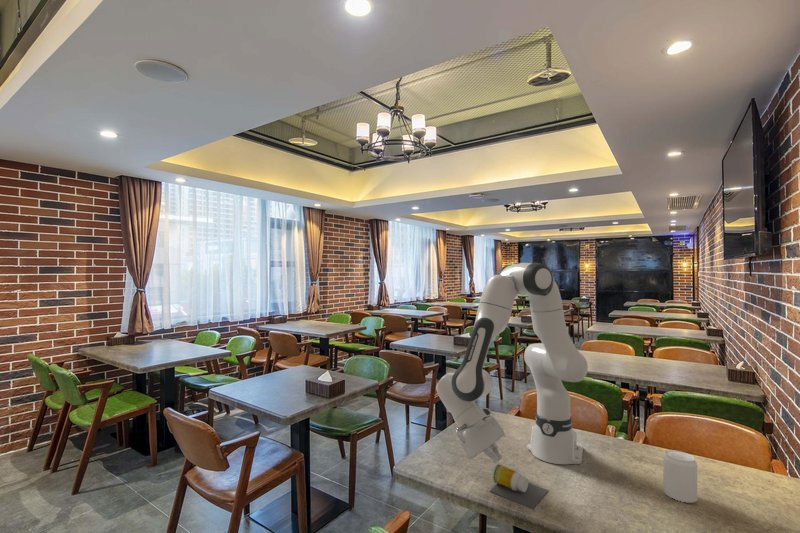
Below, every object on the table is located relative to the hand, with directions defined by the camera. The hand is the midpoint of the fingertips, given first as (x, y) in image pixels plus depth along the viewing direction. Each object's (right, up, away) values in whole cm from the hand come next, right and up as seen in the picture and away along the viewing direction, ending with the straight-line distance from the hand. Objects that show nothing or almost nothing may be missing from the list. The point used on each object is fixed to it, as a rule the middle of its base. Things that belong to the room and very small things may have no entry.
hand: (498, 460), depth 119 cm
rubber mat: (+5, -7, -4) cm, 10 cm away
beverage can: (+52, -8, -5) cm, 53 cm away
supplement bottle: (-1, -4, +1) cm, 4 cm away
